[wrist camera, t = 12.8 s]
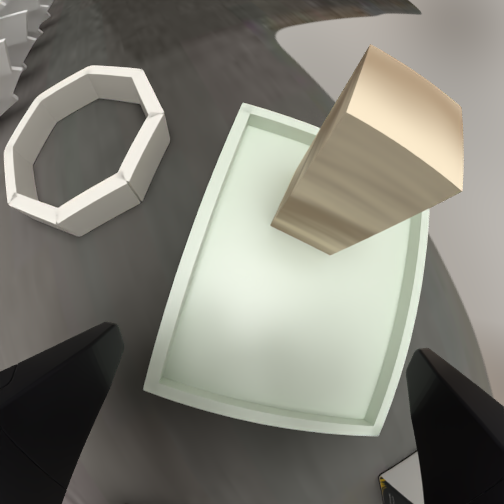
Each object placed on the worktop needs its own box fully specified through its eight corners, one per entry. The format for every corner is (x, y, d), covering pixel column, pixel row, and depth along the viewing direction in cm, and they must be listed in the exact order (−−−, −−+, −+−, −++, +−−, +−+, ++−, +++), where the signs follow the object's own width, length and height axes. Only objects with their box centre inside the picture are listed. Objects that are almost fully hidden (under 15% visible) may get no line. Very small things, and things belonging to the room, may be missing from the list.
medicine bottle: (377, 475, 17) (458, 541, 5) (437, 434, 18) (527, 470, 6) (384, 514, 16) (447, 572, 4) (439, 477, 17) (510, 516, 6)
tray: (363, 424, 18) (378, 436, 15) (151, 379, 17) (142, 389, 14) (413, 190, 22) (430, 180, 19) (239, 122, 21) (242, 102, 18)
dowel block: (330, 255, 19) (462, 191, 7) (270, 225, 19) (346, 112, 7) (350, 200, 20) (461, 107, 8) (294, 171, 20) (370, 43, 8)
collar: (122, 253, 18) (103, 242, 15) (6, 207, 17) (-17, 194, 14) (189, 104, 21) (187, 76, 17) (72, 87, 20) (60, 65, 17)
